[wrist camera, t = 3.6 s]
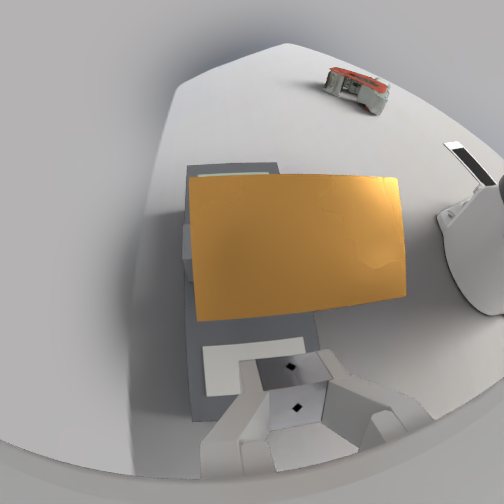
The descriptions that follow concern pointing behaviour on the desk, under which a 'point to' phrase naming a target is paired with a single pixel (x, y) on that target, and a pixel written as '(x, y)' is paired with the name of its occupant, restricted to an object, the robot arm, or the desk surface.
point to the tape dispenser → (359, 88)
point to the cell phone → (470, 163)
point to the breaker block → (232, 325)
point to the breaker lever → (294, 243)
